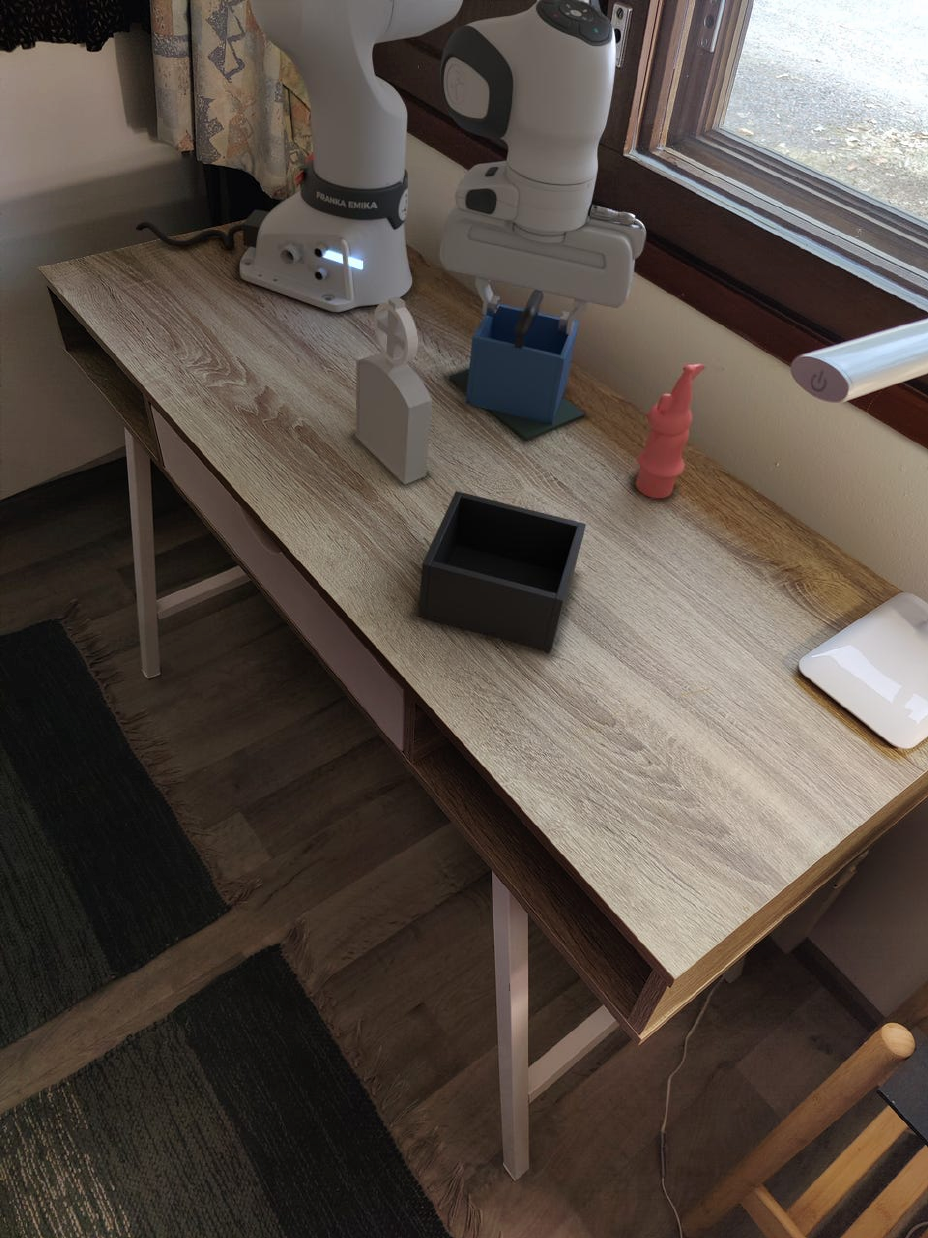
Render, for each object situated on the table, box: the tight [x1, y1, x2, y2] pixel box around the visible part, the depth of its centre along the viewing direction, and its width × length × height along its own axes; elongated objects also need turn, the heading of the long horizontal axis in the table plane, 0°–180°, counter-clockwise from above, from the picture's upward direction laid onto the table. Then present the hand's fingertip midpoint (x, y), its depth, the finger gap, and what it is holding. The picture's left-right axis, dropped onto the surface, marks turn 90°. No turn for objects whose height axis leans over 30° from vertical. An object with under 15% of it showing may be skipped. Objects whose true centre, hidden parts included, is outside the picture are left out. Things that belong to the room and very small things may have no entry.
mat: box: [448, 368, 586, 442], centre depth 111 cm, size 14×9×1 cm, turn 39°
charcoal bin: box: [417, 490, 587, 653], centre depth 87 cm, size 12×10×7 cm
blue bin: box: [464, 290, 580, 425], centre depth 107 cm, size 10×9×11 cm
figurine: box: [635, 363, 706, 499], centre depth 97 cm, size 5×5×15 cm
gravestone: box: [355, 296, 433, 485], centre depth 95 cm, size 3×9×18 cm, turn 37°
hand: (527, 322), depth 104 cm, fingers open, 7 cm apart
